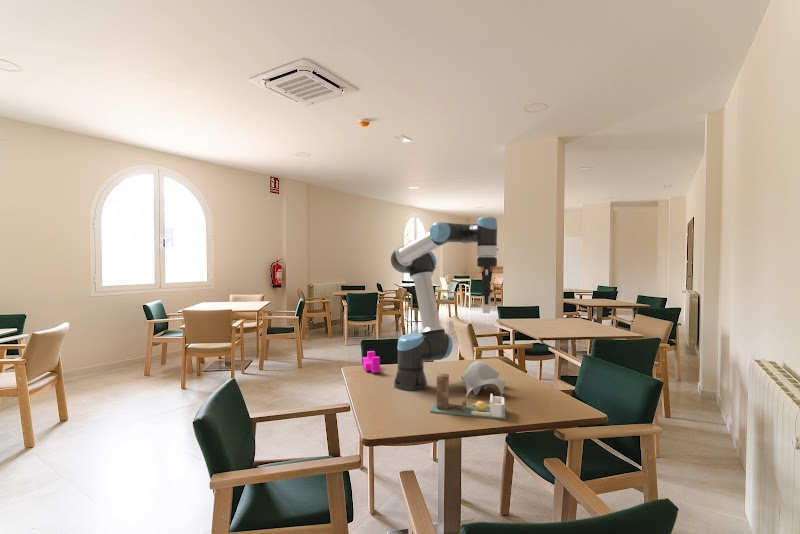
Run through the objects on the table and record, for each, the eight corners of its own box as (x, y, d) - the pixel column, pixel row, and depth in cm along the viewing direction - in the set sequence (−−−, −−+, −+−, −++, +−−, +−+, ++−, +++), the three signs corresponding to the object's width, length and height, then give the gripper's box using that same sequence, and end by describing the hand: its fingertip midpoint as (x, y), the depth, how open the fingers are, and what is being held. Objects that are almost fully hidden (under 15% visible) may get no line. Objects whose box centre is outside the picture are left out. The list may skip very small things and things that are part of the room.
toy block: (362, 365, 213) (362, 351, 213) (374, 364, 215) (374, 350, 215) (367, 373, 199) (367, 358, 198) (379, 372, 200) (379, 357, 200)
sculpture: (509, 399, 162) (510, 375, 162) (463, 398, 163) (463, 375, 162) (496, 380, 187) (496, 359, 187) (456, 380, 188) (456, 359, 187)
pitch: (430, 412, 147) (430, 408, 147) (434, 403, 156) (434, 399, 156) (505, 419, 140) (505, 415, 140) (505, 410, 149) (505, 406, 149)
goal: (489, 416, 142) (489, 401, 142) (490, 407, 150) (490, 393, 150) (504, 417, 141) (504, 402, 141) (504, 408, 149) (504, 394, 149)
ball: (475, 412, 146) (475, 402, 146) (475, 408, 149) (475, 399, 149) (485, 413, 145) (485, 403, 145) (485, 409, 148) (485, 400, 148)
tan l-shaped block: (436, 408, 148) (436, 376, 148) (438, 403, 154) (438, 372, 153) (464, 411, 146) (464, 378, 145) (466, 406, 151) (466, 374, 151)
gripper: (497, 256, 143) (496, 315, 143) (496, 257, 167) (496, 307, 168) (475, 256, 145) (475, 314, 145) (478, 257, 169) (478, 306, 169)
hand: (486, 310), depth 156 cm, fingers open, 13 cm apart
